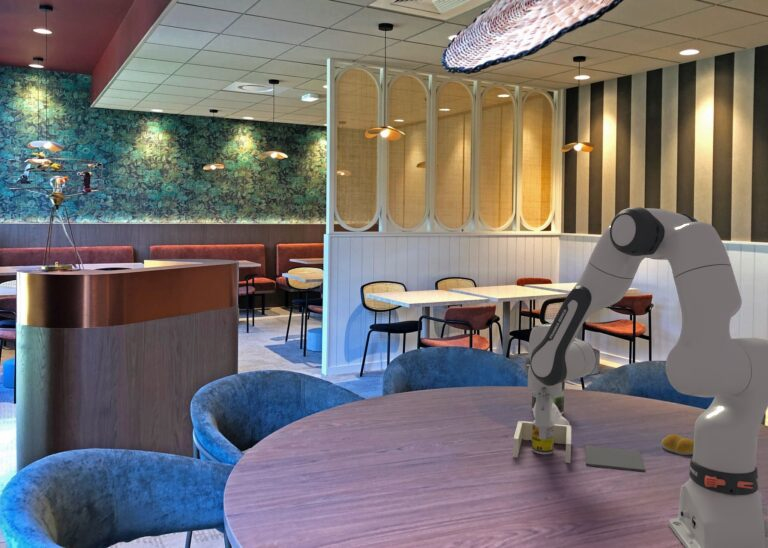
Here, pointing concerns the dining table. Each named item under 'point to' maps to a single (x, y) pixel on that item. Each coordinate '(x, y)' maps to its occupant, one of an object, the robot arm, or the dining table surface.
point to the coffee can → (555, 400)
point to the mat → (614, 458)
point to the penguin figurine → (555, 415)
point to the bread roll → (678, 444)
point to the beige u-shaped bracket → (526, 429)
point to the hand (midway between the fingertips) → (543, 434)
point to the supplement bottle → (543, 445)
